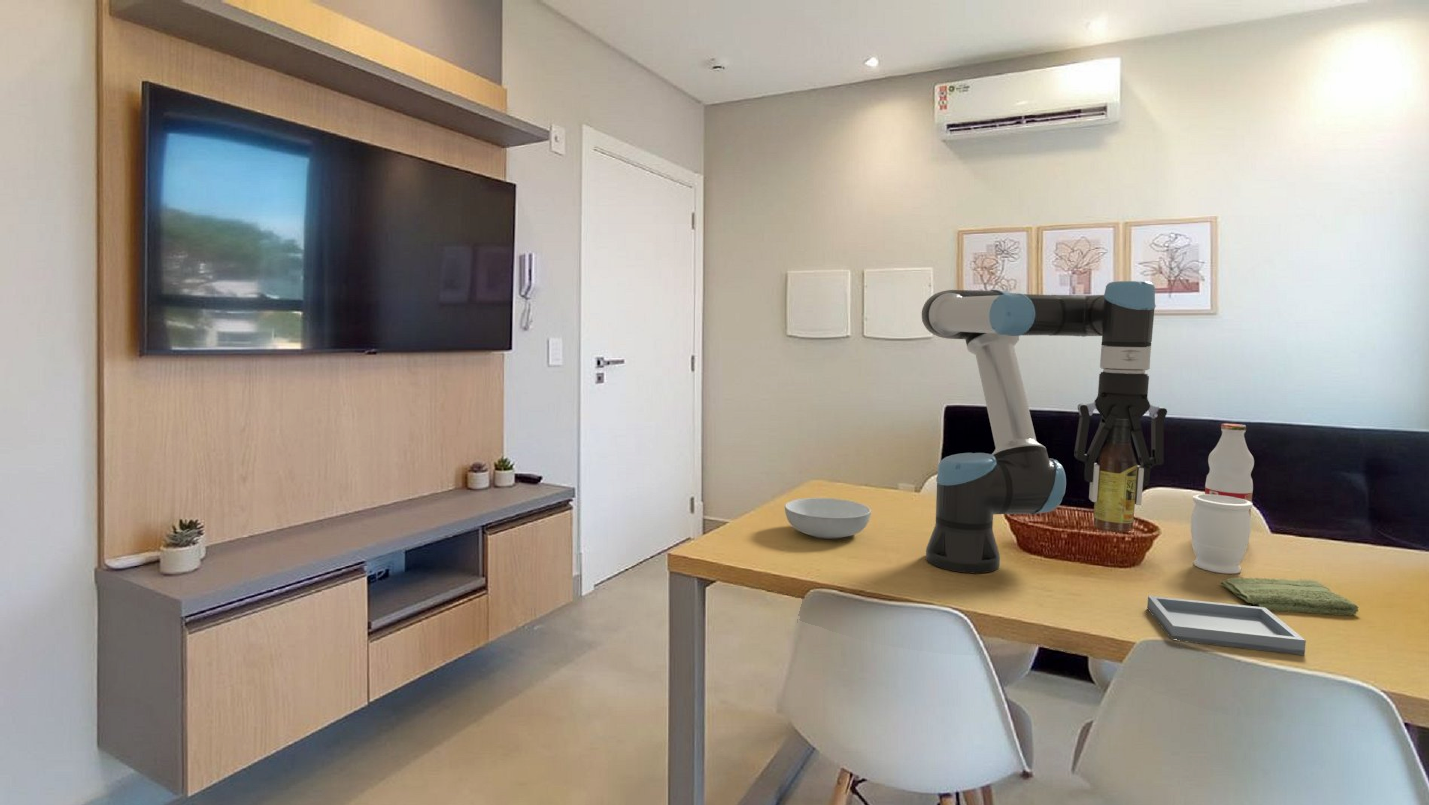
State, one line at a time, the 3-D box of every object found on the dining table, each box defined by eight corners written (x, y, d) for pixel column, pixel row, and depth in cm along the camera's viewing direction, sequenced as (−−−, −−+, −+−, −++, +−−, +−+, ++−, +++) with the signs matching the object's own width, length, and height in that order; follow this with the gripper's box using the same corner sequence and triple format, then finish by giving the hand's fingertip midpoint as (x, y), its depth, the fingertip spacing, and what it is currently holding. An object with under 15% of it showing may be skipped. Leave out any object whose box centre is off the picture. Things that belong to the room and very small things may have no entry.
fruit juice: (1258, 542, 172) (1268, 426, 170) (1224, 543, 171) (1233, 427, 168) (1224, 531, 182) (1233, 422, 179) (1192, 532, 180) (1200, 422, 177)
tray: (1172, 640, 116) (1173, 625, 116) (1147, 608, 129) (1148, 595, 129) (1304, 655, 111) (1305, 640, 111) (1264, 620, 124) (1265, 607, 124)
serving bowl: (878, 547, 166) (879, 518, 165) (788, 546, 166) (788, 517, 165) (861, 523, 186) (862, 497, 186) (781, 522, 187) (781, 496, 186)
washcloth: (1216, 587, 142) (1217, 571, 142) (1318, 594, 139) (1320, 578, 138) (1249, 611, 130) (1251, 594, 129) (1363, 621, 126) (1365, 603, 126)
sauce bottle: (1132, 536, 123) (1140, 421, 120) (1091, 530, 126) (1099, 418, 124) (1133, 527, 128) (1141, 417, 126) (1094, 522, 131) (1101, 414, 129)
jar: (1257, 578, 146) (1263, 506, 145) (1201, 574, 148) (1206, 503, 147) (1231, 562, 157) (1236, 494, 155) (1179, 558, 159) (1183, 492, 157)
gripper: (1067, 371, 123) (1058, 502, 126) (1195, 374, 118) (1183, 511, 120) (1059, 368, 130) (1051, 492, 133) (1180, 371, 125) (1169, 501, 127)
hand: (1114, 501), depth 126 cm, fingers closed on sauce bottle, 6 cm apart
